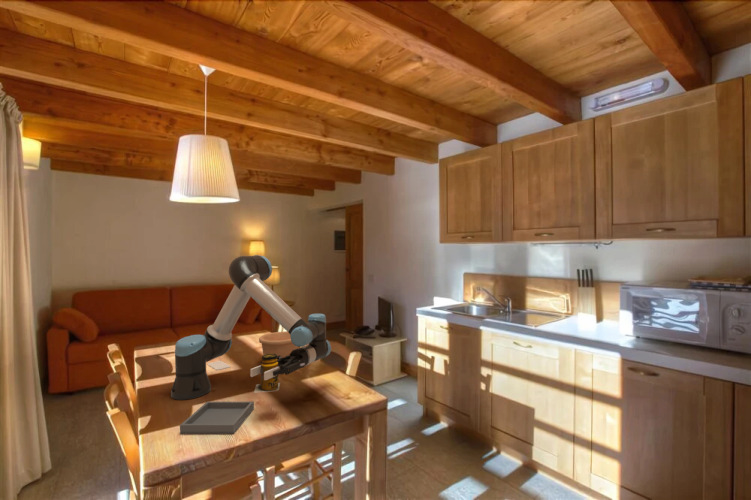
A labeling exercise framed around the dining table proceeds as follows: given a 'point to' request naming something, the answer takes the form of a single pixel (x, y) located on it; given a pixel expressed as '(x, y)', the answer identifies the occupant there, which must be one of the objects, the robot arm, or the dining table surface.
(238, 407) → the tray
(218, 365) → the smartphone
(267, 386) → the condiment
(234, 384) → the dining table surface
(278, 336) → the pottery
